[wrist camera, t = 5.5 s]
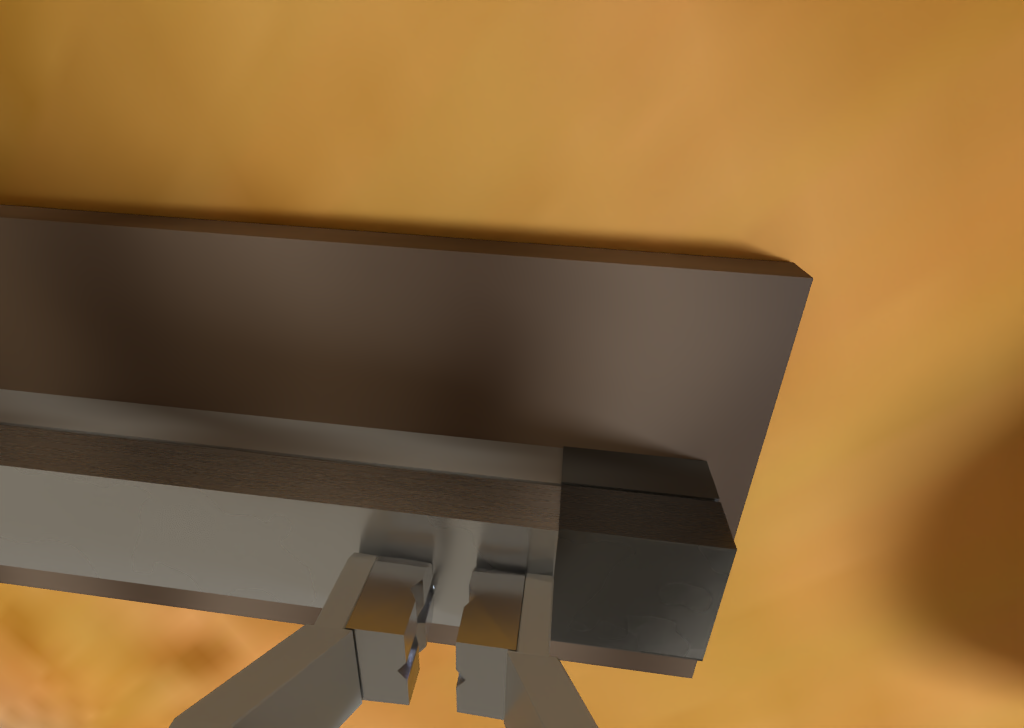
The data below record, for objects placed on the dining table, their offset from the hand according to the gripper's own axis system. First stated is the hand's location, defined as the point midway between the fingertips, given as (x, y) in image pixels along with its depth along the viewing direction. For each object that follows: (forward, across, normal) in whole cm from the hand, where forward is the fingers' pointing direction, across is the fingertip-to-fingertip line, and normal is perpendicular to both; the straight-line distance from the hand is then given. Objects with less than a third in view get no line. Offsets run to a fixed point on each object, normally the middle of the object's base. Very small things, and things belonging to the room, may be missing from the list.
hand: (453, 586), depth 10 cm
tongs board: (+3, +9, 0) cm, 9 cm away
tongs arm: (+1, +6, 0) cm, 6 cm away
